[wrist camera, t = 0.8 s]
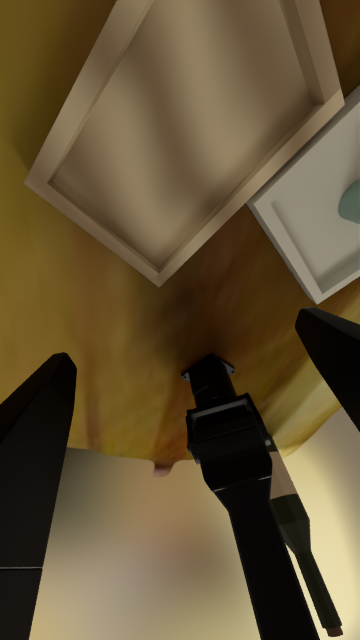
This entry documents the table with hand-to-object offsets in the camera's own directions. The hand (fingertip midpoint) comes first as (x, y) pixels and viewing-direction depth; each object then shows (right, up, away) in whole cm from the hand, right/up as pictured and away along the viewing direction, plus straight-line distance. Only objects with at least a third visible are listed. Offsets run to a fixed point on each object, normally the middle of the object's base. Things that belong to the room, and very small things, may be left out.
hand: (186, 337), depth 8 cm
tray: (0, +13, +7) cm, 15 cm away
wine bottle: (+21, -33, +49) cm, 63 cm away
